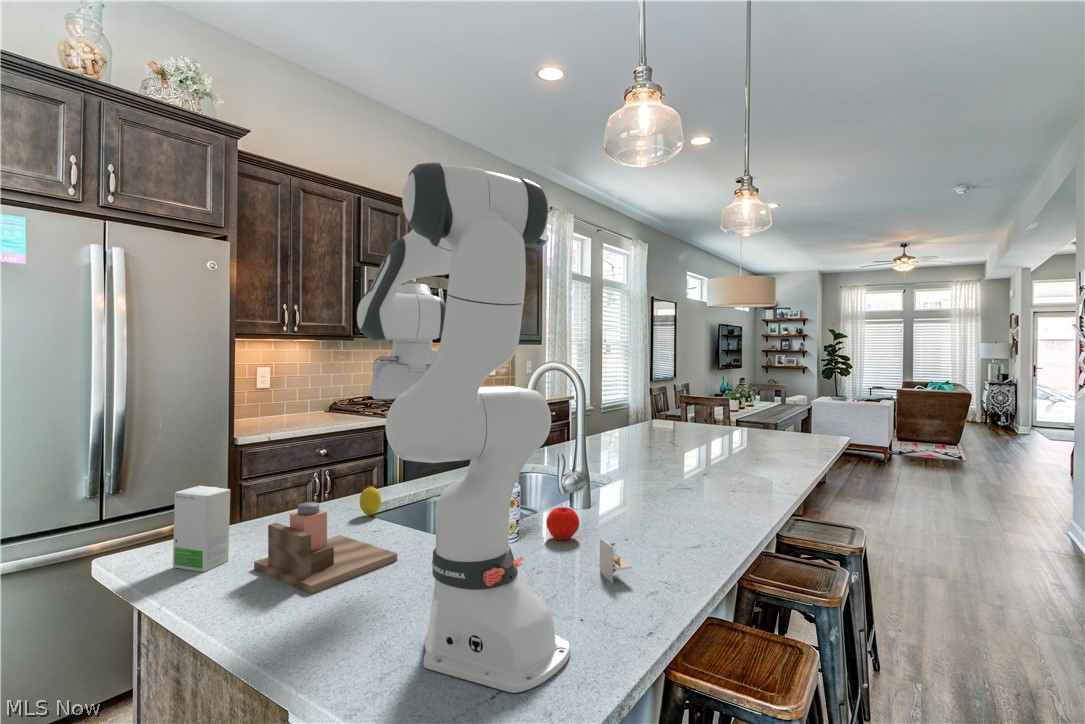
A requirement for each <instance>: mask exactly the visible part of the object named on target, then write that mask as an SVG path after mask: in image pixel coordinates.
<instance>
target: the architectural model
mask: <svg viewBox="0 0 1085 724" xmlns="http://www.w3.org/2000/svg"><path fill="white" fill-rule="evenodd" d="M599 541H600V542H599V573H600V574H601V575H602V576H603V577H604V578H606V579H607V581H609V582H611V584H613V583H614V573H616V571H623V570H629V569H632V566H631V565H630V564H628V563H627V562H626V561H624V559H622V557H621V556H619V555H618V554H616V550H617V549H615V550H614V547H615V545H616V543H617V542H616V541H615V542H608V541H606V540H605V539H603V538H602V537H600V538H599Z"/></svg>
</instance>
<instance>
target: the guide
mask: <svg viewBox="0 0 1085 724" xmlns="http://www.w3.org/2000/svg"><path fill="white" fill-rule="evenodd" d="M267 526H268V527H267V528H268V529H267V537H268V541H267V547H268V550H267V551H268V553H267V555H268V556H267V557H265V558H260V559H258V560H254V561H253V569H254V570H256V571H258V572H261V573H262V574H265V575H267V576H269V577H271V578H273V579H276V580H278V581H281V582H282V583H286V584H287V585H290V586H292V587H294V588H296V589H299V590H301V591H303V592H305V593H308V594H310V595H312V594H315V593H316V592H320V591H322V590H325V589H327V588H330V587H333V586H335V585H337V584H340V583H343V582H346V581H348V580H351V579H353V578H356V577H358V576H360V575H364V574H366V573H368V572H371V571H374V570H376V569H378V568H382V567H384V566H387V565H389V564H392V563H394V562H397V561H398V553H397V552H396V551H395V552H394V551H391V550H388V549H385V548H382V547H378V546H375V545H372V544H369V543H366V542H363V541H360V540H357V539H354V538H351V537H348V536H345V535H342V534H339V535H336V536H333V537H332V536H331V537H329V538H327V546H326V547H323V548H320V549H317V550H314V551H311V534H309V533H306V532H303V531H300V530H297V529H294V528H291V527H290V526H288V525H285V524H281V523H279V522H276V523H275V522H274V523H272V524H268V525H267ZM363 573H364V574H363ZM355 576H356V577H355ZM352 577H353V578H352ZM345 580H346V581H345Z"/></svg>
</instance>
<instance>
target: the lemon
mask: <svg viewBox="0 0 1085 724" xmlns="http://www.w3.org/2000/svg"><path fill="white" fill-rule="evenodd" d="M381 504H382V496H381V493H380V491H379V490H378V489H377V488H375V487H373V486H372V485H371V486H370V485H369V486H368V487H366V488H364V489H363V490H362V492H361V494H360V496H359V507H360V510H361V511H362V512H363V513H364V514H367V515H368V516H370V517H371V516H373V515H374V514H375V513H376V512H378V511H379V509H380V508H381Z"/></svg>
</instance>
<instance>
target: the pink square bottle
mask: <svg viewBox="0 0 1085 724" xmlns="http://www.w3.org/2000/svg"><path fill="white" fill-rule="evenodd" d="M289 527H291V528H294V529H297V530H300V531H303V532H306V533H309V534H311V551H314V550H317V549H320V548H323V547H326V546H327V539H328V512H327V511H326V510H322V509H320V503H319V502H315V501H309V502H308V501H307V502H303V503H299V504H298V505H297V511H295V512H290V513H289Z"/></svg>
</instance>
